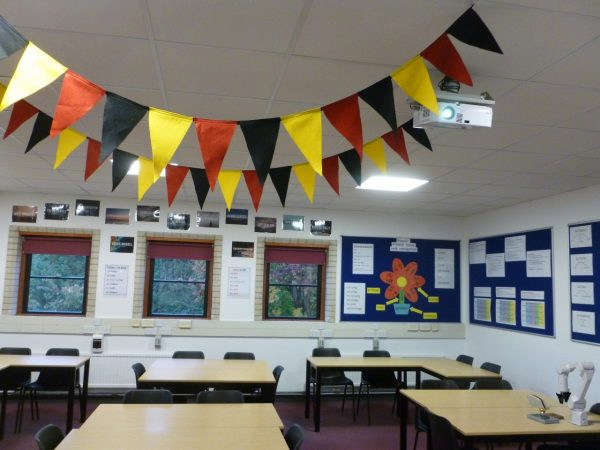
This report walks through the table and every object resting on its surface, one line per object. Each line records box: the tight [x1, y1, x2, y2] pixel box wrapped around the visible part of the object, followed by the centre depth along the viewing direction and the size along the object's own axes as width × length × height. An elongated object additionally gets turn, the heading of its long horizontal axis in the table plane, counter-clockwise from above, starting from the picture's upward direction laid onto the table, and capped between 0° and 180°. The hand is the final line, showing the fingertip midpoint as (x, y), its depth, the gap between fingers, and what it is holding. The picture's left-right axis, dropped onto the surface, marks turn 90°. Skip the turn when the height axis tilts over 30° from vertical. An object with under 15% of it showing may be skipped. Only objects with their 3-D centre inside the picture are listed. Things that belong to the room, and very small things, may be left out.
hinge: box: [526, 394, 549, 410], centre depth 370 cm, size 17×5×10 cm, turn 10°
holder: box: [545, 412, 565, 421], centre depth 337 cm, size 9×9×2 cm
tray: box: [526, 412, 560, 425], centre depth 330 cm, size 16×12×2 cm
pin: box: [538, 408, 547, 420], centre depth 331 cm, size 4×4×7 cm
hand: (563, 403), depth 339 cm, fingers open, 7 cm apart
